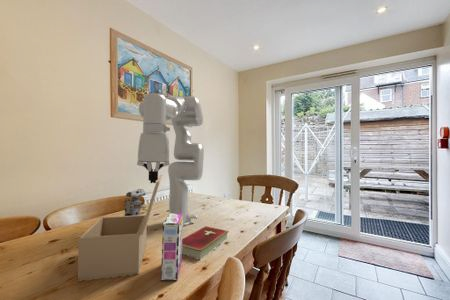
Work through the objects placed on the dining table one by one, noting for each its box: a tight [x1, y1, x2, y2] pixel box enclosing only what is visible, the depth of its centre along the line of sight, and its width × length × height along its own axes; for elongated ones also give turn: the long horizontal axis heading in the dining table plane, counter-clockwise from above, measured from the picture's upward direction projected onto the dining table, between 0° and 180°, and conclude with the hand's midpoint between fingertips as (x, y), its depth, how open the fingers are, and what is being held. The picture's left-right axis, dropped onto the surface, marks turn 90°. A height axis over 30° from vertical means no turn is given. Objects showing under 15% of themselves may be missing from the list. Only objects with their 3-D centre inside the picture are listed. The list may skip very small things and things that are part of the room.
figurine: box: [123, 188, 147, 216], centre depth 120 cm, size 9×12×15 cm
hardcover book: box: [182, 225, 229, 260], centre depth 85 cm, size 12×21×4 cm, turn 152°
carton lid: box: [140, 174, 163, 235], centre depth 75 cm, size 16×20×1 cm
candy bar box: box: [160, 213, 184, 281], centre depth 67 cm, size 11×5×16 cm, turn 5°
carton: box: [77, 214, 148, 282], centre depth 72 cm, size 16×20×12 cm
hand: (153, 182), depth 75 cm, fingers closed
